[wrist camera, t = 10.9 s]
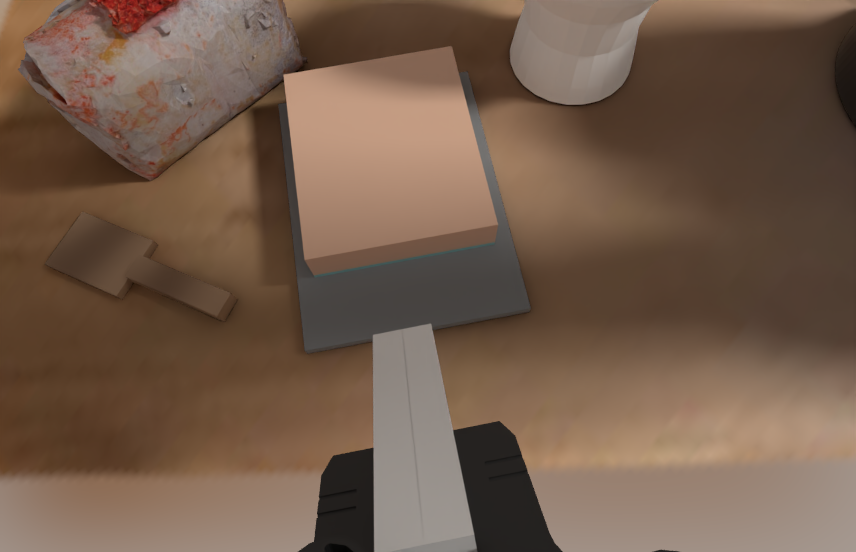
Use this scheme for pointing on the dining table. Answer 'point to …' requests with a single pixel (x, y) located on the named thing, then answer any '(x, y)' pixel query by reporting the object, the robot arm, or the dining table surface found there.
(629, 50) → the cup
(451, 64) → the tile
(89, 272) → the spatula
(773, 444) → the dining table surface
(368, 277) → the mat
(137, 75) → the food item
